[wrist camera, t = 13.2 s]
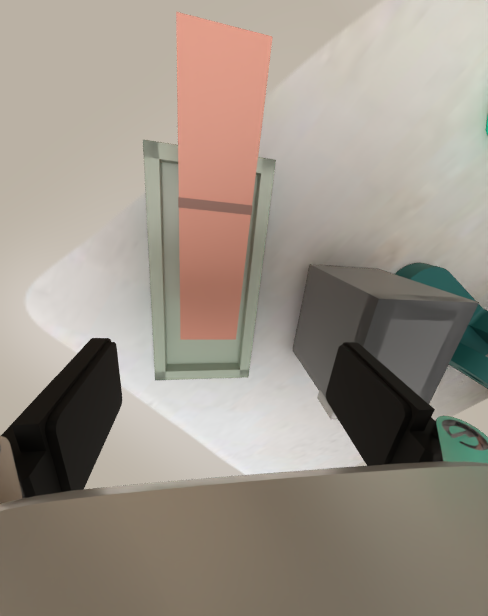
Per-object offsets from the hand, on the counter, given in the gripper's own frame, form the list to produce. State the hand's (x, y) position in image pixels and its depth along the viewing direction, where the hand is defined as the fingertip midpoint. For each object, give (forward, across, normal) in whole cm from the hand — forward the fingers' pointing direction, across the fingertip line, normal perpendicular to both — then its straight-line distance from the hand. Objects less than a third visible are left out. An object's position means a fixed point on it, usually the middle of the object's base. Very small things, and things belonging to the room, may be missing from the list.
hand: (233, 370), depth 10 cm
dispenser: (+14, -13, +3) cm, 19 cm away
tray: (+14, +1, 0) cm, 14 cm away
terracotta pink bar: (+12, +1, -6) cm, 14 cm away
